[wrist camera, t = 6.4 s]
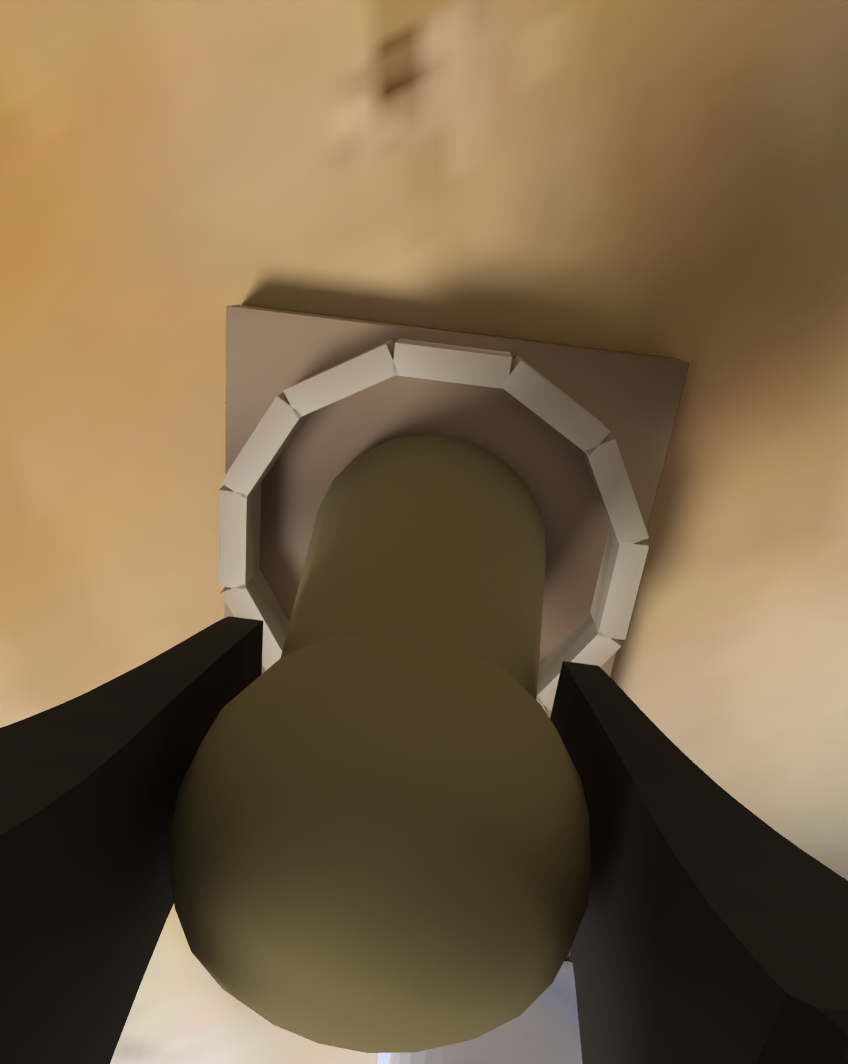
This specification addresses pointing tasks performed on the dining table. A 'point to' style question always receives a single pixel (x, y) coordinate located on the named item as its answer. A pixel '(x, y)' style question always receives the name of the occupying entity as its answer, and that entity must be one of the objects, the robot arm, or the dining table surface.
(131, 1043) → the dining table surface
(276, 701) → the cork
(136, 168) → the dining table surface
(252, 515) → the cup holder
